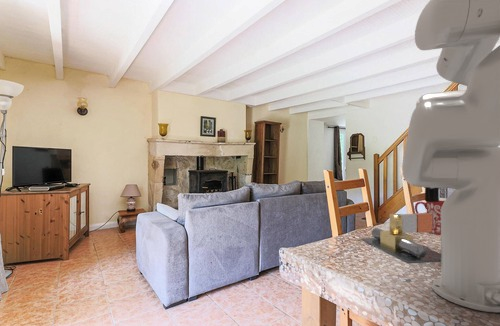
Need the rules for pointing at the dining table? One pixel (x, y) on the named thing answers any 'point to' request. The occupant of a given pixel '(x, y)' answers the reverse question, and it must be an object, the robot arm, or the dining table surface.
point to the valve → (401, 247)
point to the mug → (434, 213)
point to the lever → (410, 223)
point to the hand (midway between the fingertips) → (431, 201)
